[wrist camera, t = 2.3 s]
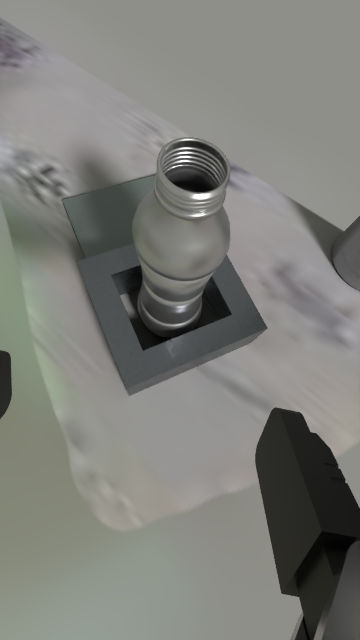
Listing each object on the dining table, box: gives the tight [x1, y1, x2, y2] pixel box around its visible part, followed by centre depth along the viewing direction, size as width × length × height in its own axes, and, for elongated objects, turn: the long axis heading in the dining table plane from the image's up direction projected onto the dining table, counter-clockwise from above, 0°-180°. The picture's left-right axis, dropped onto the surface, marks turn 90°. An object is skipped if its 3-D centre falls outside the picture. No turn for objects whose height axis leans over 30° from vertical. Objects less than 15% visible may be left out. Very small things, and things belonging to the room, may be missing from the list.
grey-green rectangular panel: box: [63, 175, 155, 258], centre depth 37 cm, size 14×9×1 cm, turn 114°
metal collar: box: [76, 243, 267, 396], centre depth 31 cm, size 14×13×5 cm
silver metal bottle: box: [132, 138, 230, 338], centre depth 24 cm, size 6×7×20 cm
